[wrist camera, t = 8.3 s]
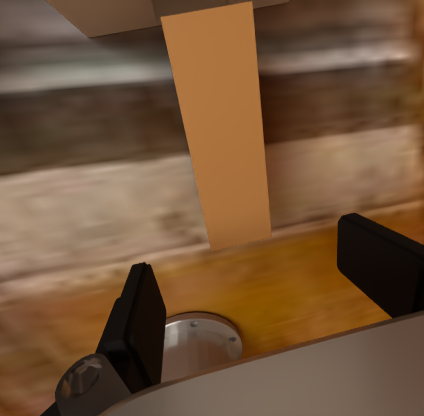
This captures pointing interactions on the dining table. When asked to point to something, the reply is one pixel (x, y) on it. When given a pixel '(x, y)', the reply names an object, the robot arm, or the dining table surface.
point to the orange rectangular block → (222, 118)
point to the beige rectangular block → (134, 12)
